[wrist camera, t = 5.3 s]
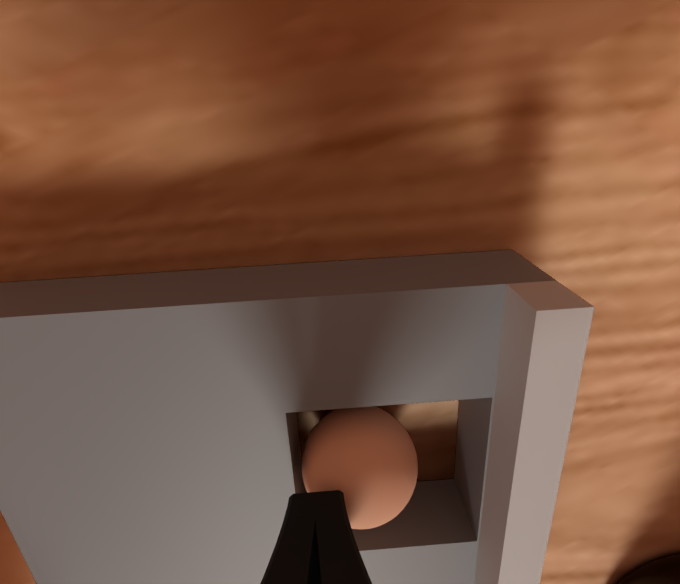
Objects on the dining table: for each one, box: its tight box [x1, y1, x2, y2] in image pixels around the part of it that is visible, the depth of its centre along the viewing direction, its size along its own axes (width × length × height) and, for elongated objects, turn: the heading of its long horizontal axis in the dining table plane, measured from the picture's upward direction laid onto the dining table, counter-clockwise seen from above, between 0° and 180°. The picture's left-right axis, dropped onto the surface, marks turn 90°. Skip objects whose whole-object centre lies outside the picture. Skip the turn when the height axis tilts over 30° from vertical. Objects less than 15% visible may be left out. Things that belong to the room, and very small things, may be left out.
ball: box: [302, 406, 418, 529], centre depth 13 cm, size 4×4×4 cm
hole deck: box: [0, 250, 594, 584], centre depth 13 cm, size 12×15×4 cm
